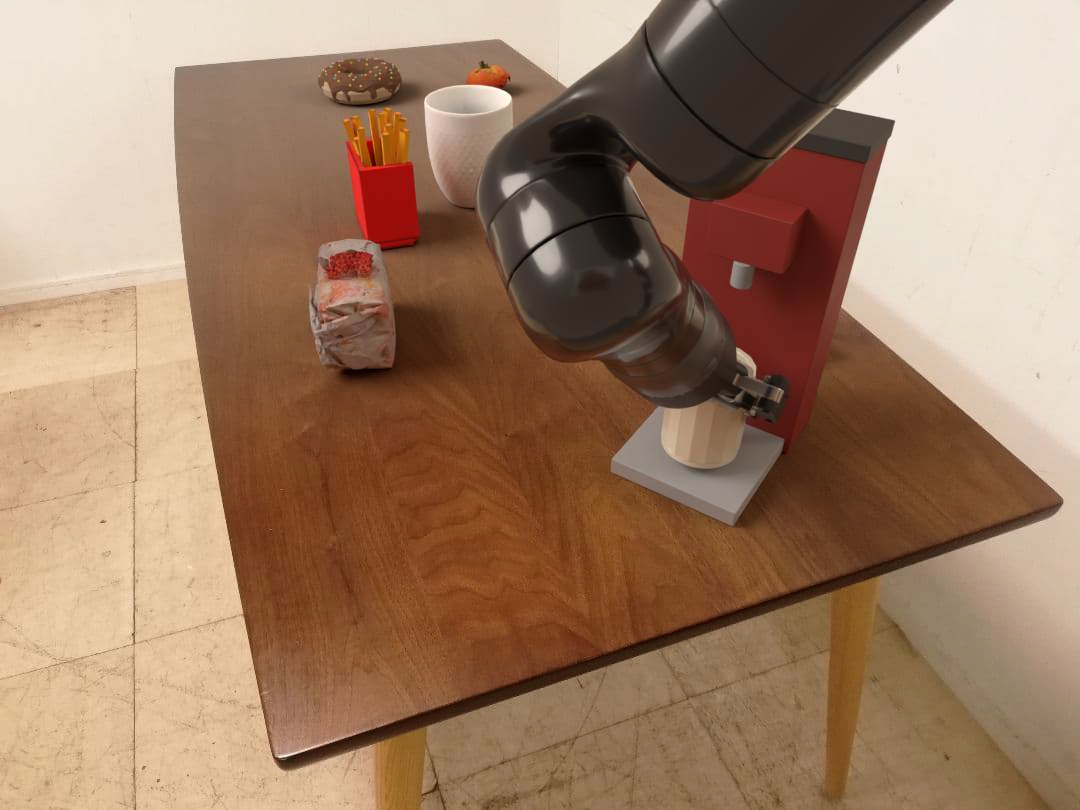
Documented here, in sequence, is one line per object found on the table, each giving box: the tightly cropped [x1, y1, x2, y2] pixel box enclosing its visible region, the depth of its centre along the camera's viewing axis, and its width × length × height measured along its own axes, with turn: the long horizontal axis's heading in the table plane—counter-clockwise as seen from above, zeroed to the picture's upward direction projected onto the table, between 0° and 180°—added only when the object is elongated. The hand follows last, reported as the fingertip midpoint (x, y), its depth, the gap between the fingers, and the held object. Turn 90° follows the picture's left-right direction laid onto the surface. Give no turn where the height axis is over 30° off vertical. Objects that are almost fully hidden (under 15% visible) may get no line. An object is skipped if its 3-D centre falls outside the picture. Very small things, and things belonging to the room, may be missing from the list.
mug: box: [423, 84, 514, 209], centre depth 107 cm, size 15×11×13 cm
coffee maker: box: [610, 107, 896, 527], centre depth 63 cm, size 16×12×27 cm
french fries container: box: [341, 107, 420, 251], centre depth 97 cm, size 7×9×14 cm
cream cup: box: [661, 347, 756, 469], centre depth 65 cm, size 6×6×8 cm
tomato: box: [464, 59, 512, 90], centre depth 141 cm, size 8×7×7 cm
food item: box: [308, 238, 397, 371], centre depth 80 cm, size 14×8×10 cm, turn 13°
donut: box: [317, 57, 403, 105], centre depth 139 cm, size 14×14×5 cm
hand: (715, 390), depth 66 cm, fingers closed on cream cup, 6 cm apart
